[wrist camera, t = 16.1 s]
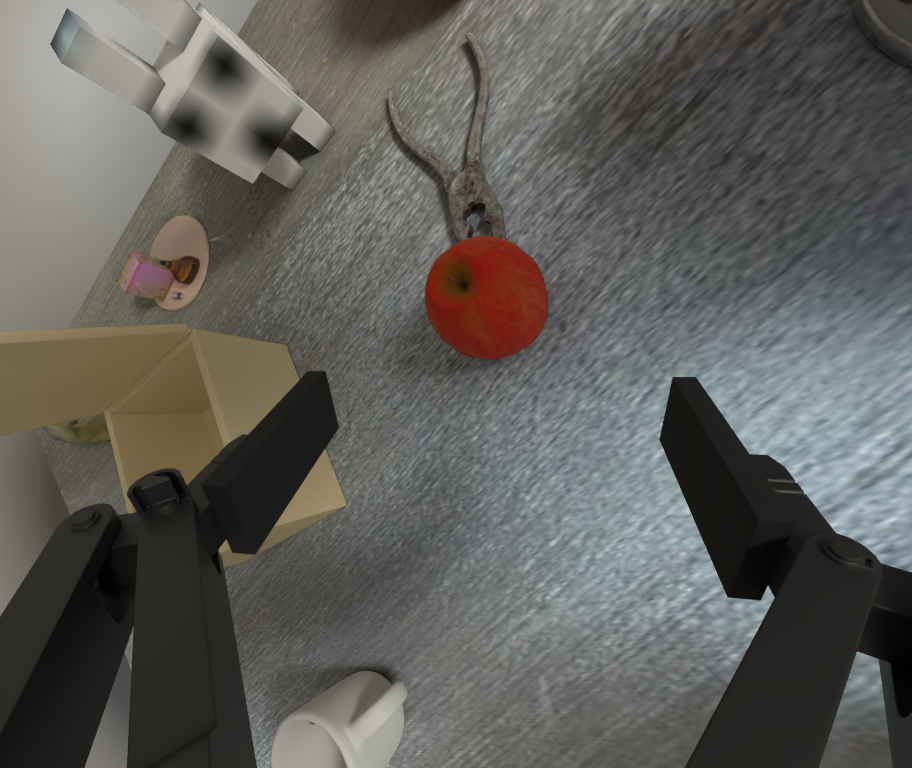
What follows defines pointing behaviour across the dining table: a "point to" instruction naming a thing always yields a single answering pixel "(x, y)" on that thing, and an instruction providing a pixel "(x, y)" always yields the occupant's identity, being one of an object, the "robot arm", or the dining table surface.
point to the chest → (212, 421)
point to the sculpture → (81, 429)
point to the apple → (486, 298)
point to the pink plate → (170, 265)
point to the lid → (74, 370)
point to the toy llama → (200, 88)
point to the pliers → (472, 181)
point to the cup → (344, 726)
